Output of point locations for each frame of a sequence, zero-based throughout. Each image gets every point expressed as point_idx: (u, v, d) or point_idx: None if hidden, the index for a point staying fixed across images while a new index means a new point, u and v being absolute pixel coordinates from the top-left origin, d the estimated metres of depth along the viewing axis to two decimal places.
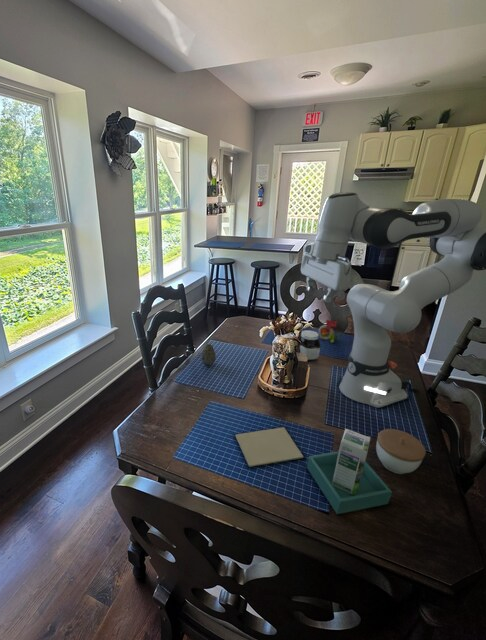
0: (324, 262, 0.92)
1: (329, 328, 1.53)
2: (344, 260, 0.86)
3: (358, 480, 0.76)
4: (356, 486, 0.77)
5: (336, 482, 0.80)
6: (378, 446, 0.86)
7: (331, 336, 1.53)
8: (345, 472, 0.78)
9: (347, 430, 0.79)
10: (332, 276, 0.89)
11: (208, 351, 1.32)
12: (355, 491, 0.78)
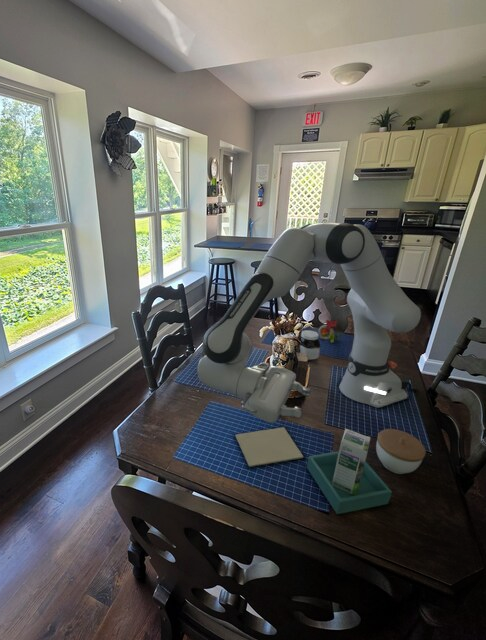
0: None
1: (329, 328, 1.53)
2: None
3: (358, 480, 0.76)
4: (356, 486, 0.77)
5: (336, 482, 0.80)
6: (378, 446, 0.86)
7: (331, 336, 1.53)
8: (345, 472, 0.78)
9: (347, 430, 0.79)
10: None
11: None
12: (355, 491, 0.78)
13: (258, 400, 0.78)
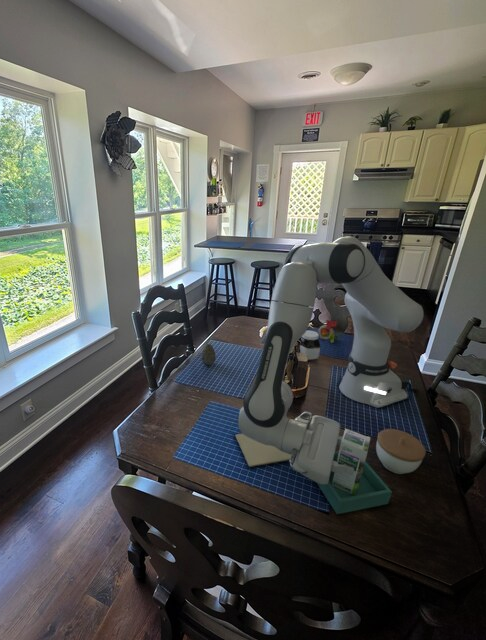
0: None
1: (329, 328, 1.53)
2: None
3: (358, 480, 0.76)
4: (356, 486, 0.77)
5: (336, 482, 0.80)
6: (378, 446, 0.86)
7: (331, 336, 1.53)
8: (345, 473, 0.78)
9: (347, 430, 0.79)
10: None
11: (208, 351, 1.32)
12: (355, 491, 0.78)
13: (308, 459, 0.76)
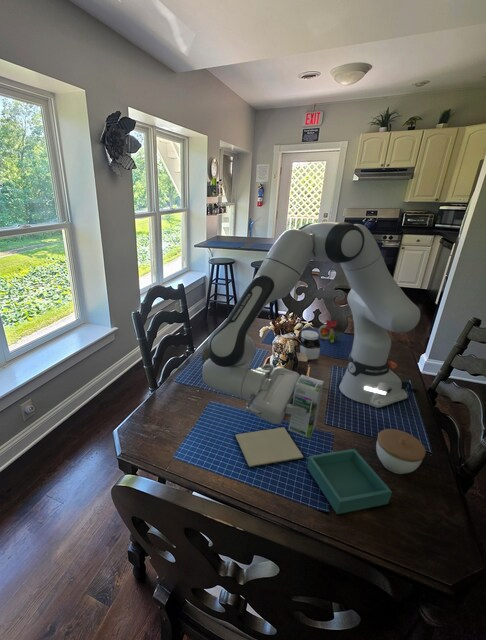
0: None
1: (329, 328, 1.53)
2: None
3: (311, 422, 0.79)
4: (310, 428, 0.80)
5: (292, 426, 0.83)
6: (378, 446, 0.86)
7: (331, 336, 1.53)
8: (299, 416, 0.80)
9: (303, 376, 0.82)
10: None
11: None
12: (309, 433, 0.80)
13: (263, 401, 0.79)
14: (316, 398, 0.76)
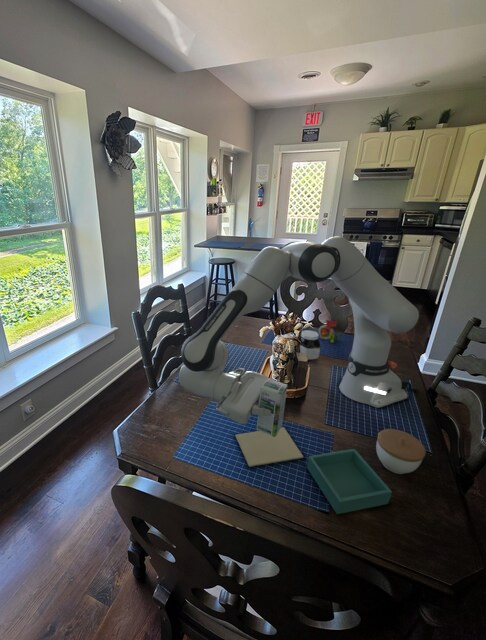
0: None
1: (329, 328, 1.53)
2: None
3: (276, 422, 0.86)
4: (275, 428, 0.87)
5: (259, 426, 0.90)
6: (378, 446, 0.86)
7: (331, 336, 1.53)
8: (265, 416, 0.87)
9: (269, 379, 0.89)
10: None
11: None
12: (274, 432, 0.87)
13: (231, 403, 0.86)
14: (279, 400, 0.83)
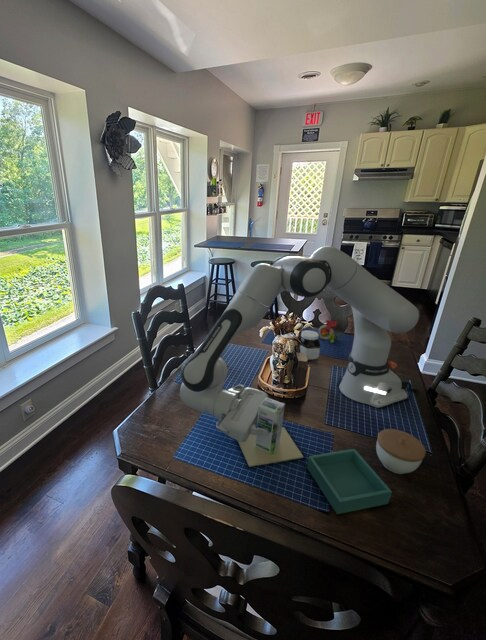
0: None
1: (329, 328, 1.53)
2: None
3: (273, 440, 0.88)
4: (272, 446, 0.89)
5: (258, 443, 0.92)
6: (378, 446, 0.86)
7: (331, 336, 1.53)
8: None
9: (266, 398, 0.91)
10: None
11: None
12: (272, 450, 0.90)
13: (231, 421, 0.88)
14: (276, 419, 0.86)
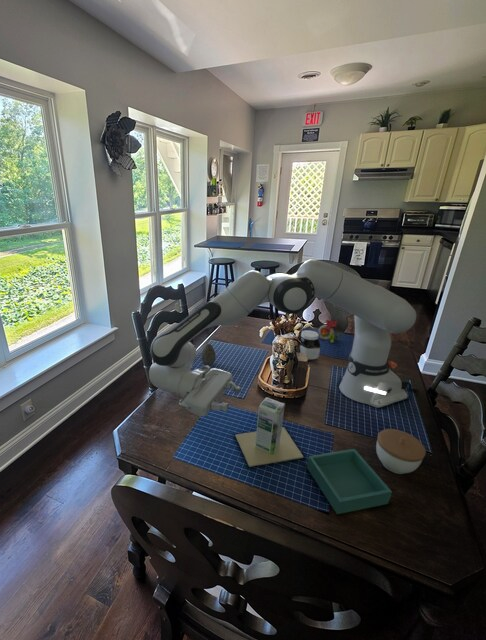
0: None
1: (329, 328, 1.53)
2: None
3: (273, 440, 0.88)
4: (272, 446, 0.89)
5: (258, 443, 0.92)
6: (378, 446, 0.86)
7: (331, 336, 1.53)
8: (263, 434, 0.90)
9: (266, 398, 0.91)
10: None
11: (208, 351, 1.32)
12: (272, 450, 0.90)
13: (193, 398, 0.93)
14: (276, 419, 0.86)
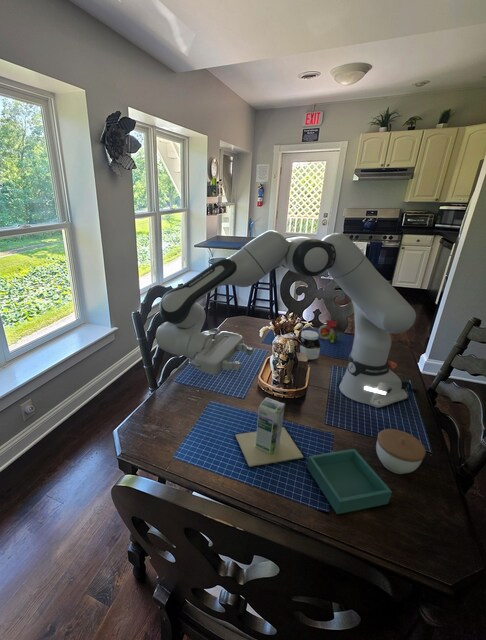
0: None
1: (329, 328, 1.53)
2: None
3: (273, 440, 0.88)
4: (272, 446, 0.89)
5: (258, 443, 0.92)
6: (378, 446, 0.86)
7: (331, 336, 1.53)
8: (263, 434, 0.90)
9: (266, 398, 0.91)
10: None
11: None
12: (272, 450, 0.90)
13: (203, 356, 0.88)
14: (276, 419, 0.86)
